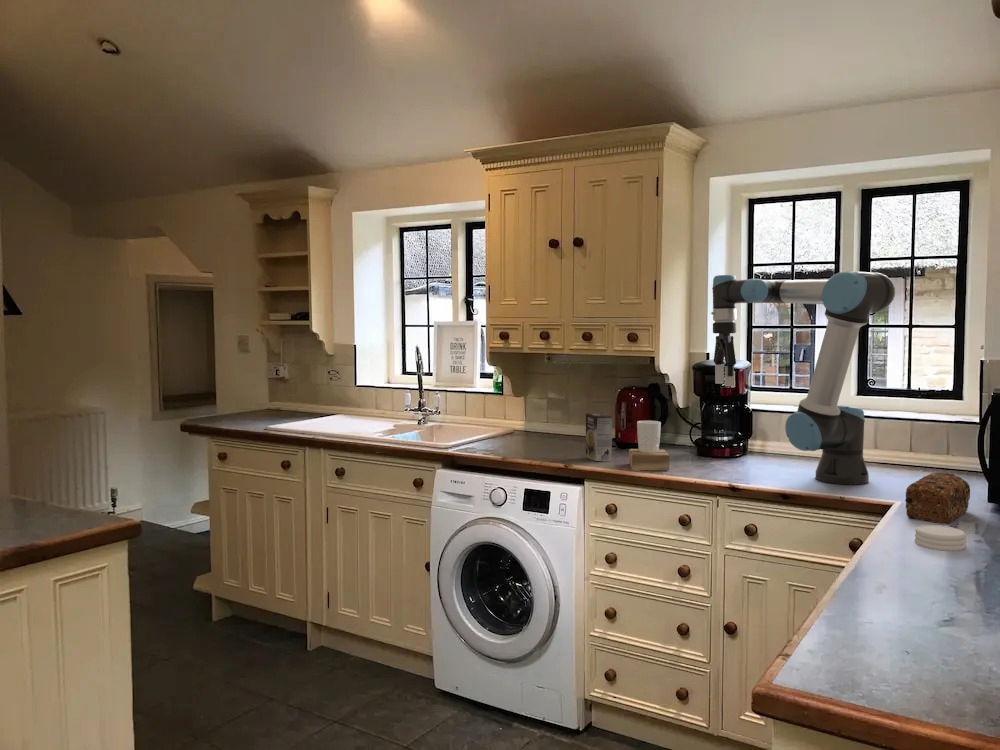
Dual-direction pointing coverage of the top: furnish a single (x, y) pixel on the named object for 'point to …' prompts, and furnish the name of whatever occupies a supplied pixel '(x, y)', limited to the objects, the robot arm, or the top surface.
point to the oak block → (648, 460)
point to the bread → (937, 498)
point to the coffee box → (598, 436)
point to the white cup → (648, 436)
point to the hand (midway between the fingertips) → (724, 385)
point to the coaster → (940, 538)
